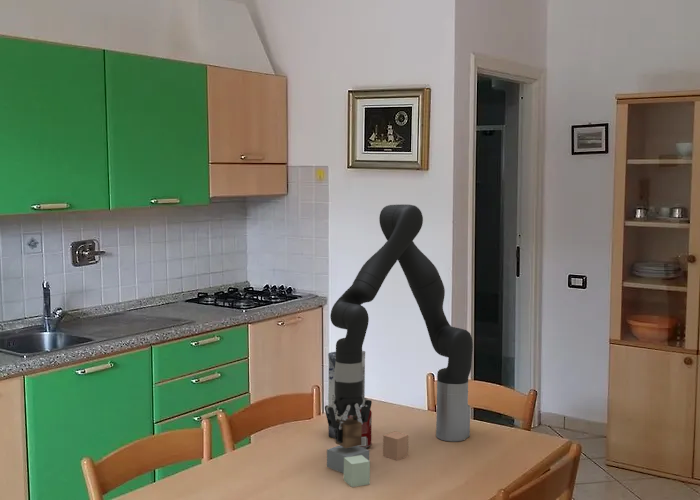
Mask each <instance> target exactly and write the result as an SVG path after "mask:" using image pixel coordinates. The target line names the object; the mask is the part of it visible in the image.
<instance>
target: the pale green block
mask: <svg viewBox="0 0 700 500" xmlns="http://www.w3.org/2000/svg"><path fill="white" fill-rule="evenodd" d="M370 478H371V461H370V459H369V460H367V459H366V458H365V457H364V456H362V455H359V456H352V457H345V458H344V473H343V481H344V482H345V483H346V484H348V485H349V486H350V487H351V488H355V487H362V486H369V485H370V483H371V482H370V481H371V479H370Z"/></svg>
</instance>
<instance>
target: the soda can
mask: <svg viewBox="0 0 700 500" xmlns="http://www.w3.org/2000/svg"><path fill="white" fill-rule="evenodd" d="M361 408H362V405H361V407H360V408H359V410H360V412H361ZM372 415H373V413H372V410H371V409H370V413H369V418H368V421H367V422H364V423H363V424H362V434H361V445H358V446H359V447H362V448H365V449H367V448H369V447H370V446H371V445H372V418H373V417H372ZM349 418H352V416H351V415H350V416H348V419H349ZM352 419H353V418H352Z"/></svg>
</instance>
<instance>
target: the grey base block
mask: <svg viewBox="0 0 700 500" xmlns="http://www.w3.org/2000/svg"><path fill="white" fill-rule="evenodd" d="M359 455H362V456H364V457H365V458H366V459H367V460H369V461H370V449H367V448H362V447H359V446H354V447H349V448H344V447H342V446H340V445H337V446H333V447H330V448H327V449H326V467H327V468H329V469H331V470H334V471H335V472H336V471H337V472H339V473H341V474H344V458H345V457H352V456H359Z"/></svg>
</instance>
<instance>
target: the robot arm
mask: <svg viewBox="0 0 700 500" xmlns="http://www.w3.org/2000/svg"><path fill="white" fill-rule="evenodd" d="M378 219H379V226H380V230H381V231H382V234H383V235H384V237H385V239H386V241H385V243H384V244H383V245H382V246H381V247H380V248H379V249H378V250H377V251H376V252H375V253H374V254H373V255H371V257H370V258H368V259H367V260H366V261H365V262H364V264H363V265H362V267H361V268H360V269H359V271H358V273H357V274H356V276H355V278H354V280H353V282H352V284H351V285H350V286H349V287H348V288H347V290H345V291H344V293H342V295H341V296H340V297H339V298H338V299H337V300H336V301H335V303H334V304H333V306H332V308H331V310H330V315H329V316H330V318H329V319H330V321H331V324H332V325H333V326H334V327H336V328H338V329H342V330H346V335H345V337H343V338H339V339H338V340H337V341H336V344H335V352H336V364H335V401H334V404H332V405H330V406H328V405H325V406H324V411H325V412H324V413H325V416H326V420H327V421H326V422H327V424H328V425H329V426H330V427H333V428H334V429H335V438H334V439H336V440H337V442H339V443H342V442H343V429H342V428H343V424H344V422H345V421H346V419H347V417H348V416H350V415H351V416H352V418H353V420H357V421H358V422H361V423H362V424H363V423H364V422H367V421H368V418H369V413H370V410H371V408H372V403H373V402H372V400H370V399H368V398H365V399H363V398H362V394H363V366H362V351H363V345H364V342H365V337H366V336H367V335H366V334H367V331H368V327H369V321H370V320H369V318H370V317H369V314H368V310H367V309H366V308H365V307H364V306H363V304H365V303H370V302H372V301H373V300H374V299H375V298H376V296H377V294H378V292H379V291H380V289H381V287H382V285H383V283H384V281H385V280H386V278H387V276H388V274H389V273H390V272H391V270H392V268H393V267H394V266H395V264H396V263H397V262H398V263H399V265H400V268H401V270H402V272H403V275H404V277H405V278H406V281H407V285H408V286H409V289H410V291H411V293H412V296H413V298H414V299H415V301H416V303H417V306H418V308H419V311H420V313H421V315H422V318H423V320H424V323H425V326H426V330H427V333H428V336H429V339H430V343H431V346H432V348H433V350H434V351H435V353H437V354H438V355H439V356H442V357H445V358H448V360H447V366H446V367H442V368H440V369H439V370H438V371H437V373H436V377H437V378H436V418H435V419H436V421H435V425H436V429H435V431H436V432H435V436H436V438H437V439H439V440H442V441H446V442H461V441H465V440H467V438H470V435H471V434H470V431H471V428H470V427H471V406H470V404H469V376H470V373H471V371H472V363H473V362H472V360H473V346H474V343H473V338H472V335H471V333H470V332H469V331H468V330H466V329H465V328H464V329H463V328H459V327H456V326H452V325H451V324H450V322H449V321H448V318H447V317H446V314H445V311H444V301H445V292H446V289H445V285H444V283H443V279H442V277H441V276H440V275H441V274H440V273H439V271H438V269H437V267H436V266H435V264H434V263H433V262H432V261H431V259H429V258H428V257H427V256H426V255H425V254H424V253H423V252H422V250H420V249H419V247H418V246H417V245H416V244H415V242H414V240H415V238H416V237H418V234H419V233H420V232H421V229H422V227H423V223H424V216H423V212H422V210H421V209H420V208H419V207H418V206H416V205H413V204H389V205H386V206H384V207H383V208H381V211H380V214H379V218H378ZM361 405H362V408H361V412H360V410H359V408H360V407H361ZM335 409H337V413H336V416H335V414H334V413H335ZM341 415H342V417H341Z"/></svg>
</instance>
